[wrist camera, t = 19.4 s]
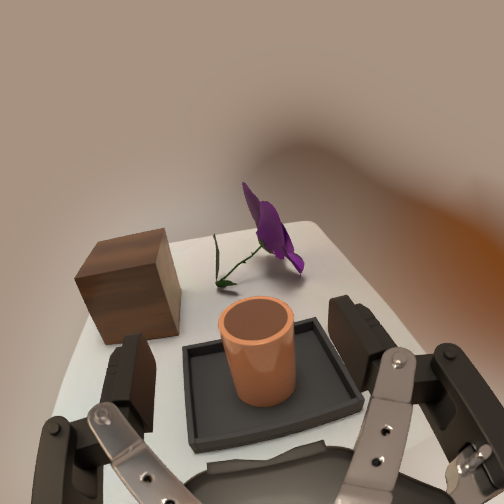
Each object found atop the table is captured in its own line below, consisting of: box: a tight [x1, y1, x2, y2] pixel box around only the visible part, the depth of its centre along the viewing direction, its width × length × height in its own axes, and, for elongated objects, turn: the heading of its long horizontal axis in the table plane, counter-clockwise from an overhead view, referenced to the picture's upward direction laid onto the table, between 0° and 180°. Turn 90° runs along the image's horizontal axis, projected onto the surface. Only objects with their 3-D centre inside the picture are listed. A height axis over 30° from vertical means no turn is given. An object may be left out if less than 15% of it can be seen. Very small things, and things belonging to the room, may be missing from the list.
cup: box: [218, 296, 296, 407], centre depth 27 cm, size 6×6×9 cm
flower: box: [213, 182, 304, 287], centre depth 46 cm, size 15×15×14 cm
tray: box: [182, 317, 365, 453], centre depth 29 cm, size 16×13×2 cm
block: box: [74, 228, 181, 345], centre depth 40 cm, size 11×11×11 cm
